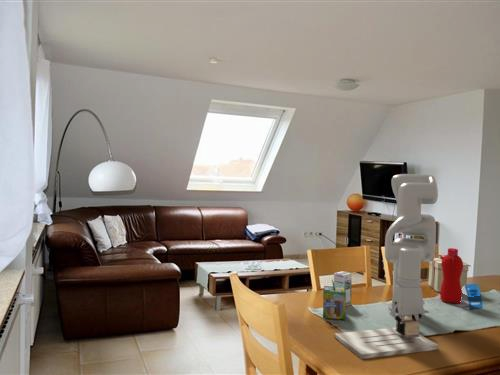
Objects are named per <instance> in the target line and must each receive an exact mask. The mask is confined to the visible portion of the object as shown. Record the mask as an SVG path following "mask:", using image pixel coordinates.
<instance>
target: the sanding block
mask: <svg viewBox="0 0 500 375" xmlns="http://www.w3.org/2000/svg"><path fill="white" fill-rule="evenodd" d="M400 319H401V317H400ZM397 323H398V322H397V321H396V320H395V327H396V331H397ZM403 324H405V332H404V336H405V337H407V338H414V337H419V334H420V321H419V322H417V321H415V320H413V319H411V318H409V317H407V316H406V317H405V319H404V323H403Z"/></svg>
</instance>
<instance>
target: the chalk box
mask: <svg viewBox="0 0 500 375" xmlns="http://www.w3.org/2000/svg"><path fill="white" fill-rule="evenodd" d="M331 282H332V285H324V287H323V294H322V296H323V298H322V299H323V304H322V305H323V306H322V307H323V308H322V309H323V310H322V318H323V319H324V318H333V319H332V320H340V319H344V321H346V320H345V319H347V318H346V315H347V313H346V312H347V311H346V310H347V308H346V307H347V306H346V290H345V287H337V286H334V279H332V280H331Z"/></svg>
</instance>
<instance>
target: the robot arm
mask: <svg viewBox="0 0 500 375" xmlns="http://www.w3.org/2000/svg"><path fill="white" fill-rule="evenodd" d="M391 188H392V193H393V194H394V197H395V201H396V205H397V206H396V219H395V221H394V222H392V223H391V225H390V226H389V228H388V229H387V231H386V234H385V239H384V240H385V241H384V257H385V260H386V262H388V263H391V264H393V270H392V271H393V274H392V275H393V276H392V277H393V278H392V298H391V299H392V300H391V303H389V304H388V310H390V312H389V315H390V316H391V317H392V318H394V320H395V322H396V321H397V322H398V323H397V332H398V333H400V334H401V335H404V332H405V324H403V323H404V319H405V315H411V319H413V320H415V321H417V322H419V323H420V320H421V319H422V317H423V316H424V315H425V314H426V313H427V311H426V310H425V308H424V306H425V303H426V302H425V300H424V297H423V296H424V295H423V290H422V286H421V283H423V278H421V276H422V275H421V273H422V264H423V263H424V262H427V263H429V262H430V261H433V259H434V258H436V245H437V244H436V240H437V238H436V237H437V235H436V234H437V222H436V220H435V217H434V216H433V215H431V214H428V213H427V214H424V213H422V205H434V204H436V202H437V200H438V197H439V196H438V195H439V189H438V185H437V180H436V177H435V176H434V175H433V174H420V173H419V174H413V173H400V174H395V175H393V176H392V178H391ZM397 233H398V234H400V235H402V236H403V235H405V236H417V237H419V236H420V237H423V238H424V239H422V238H414V237H413V238H412V237H411V238H409V237H399V238H396V239H394V236H395V234H397ZM393 239H394V240H393ZM400 317H401V319H400Z"/></svg>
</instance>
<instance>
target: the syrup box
mask: <svg viewBox="0 0 500 375" xmlns="http://www.w3.org/2000/svg"><path fill="white" fill-rule="evenodd" d="M352 279H353V278H352V273H351V272H349V271H342V270H341V271H338V272H334V273H333V282H334V286H337V287H345V290H346V307H347V306H350V305H351V306H352Z"/></svg>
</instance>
